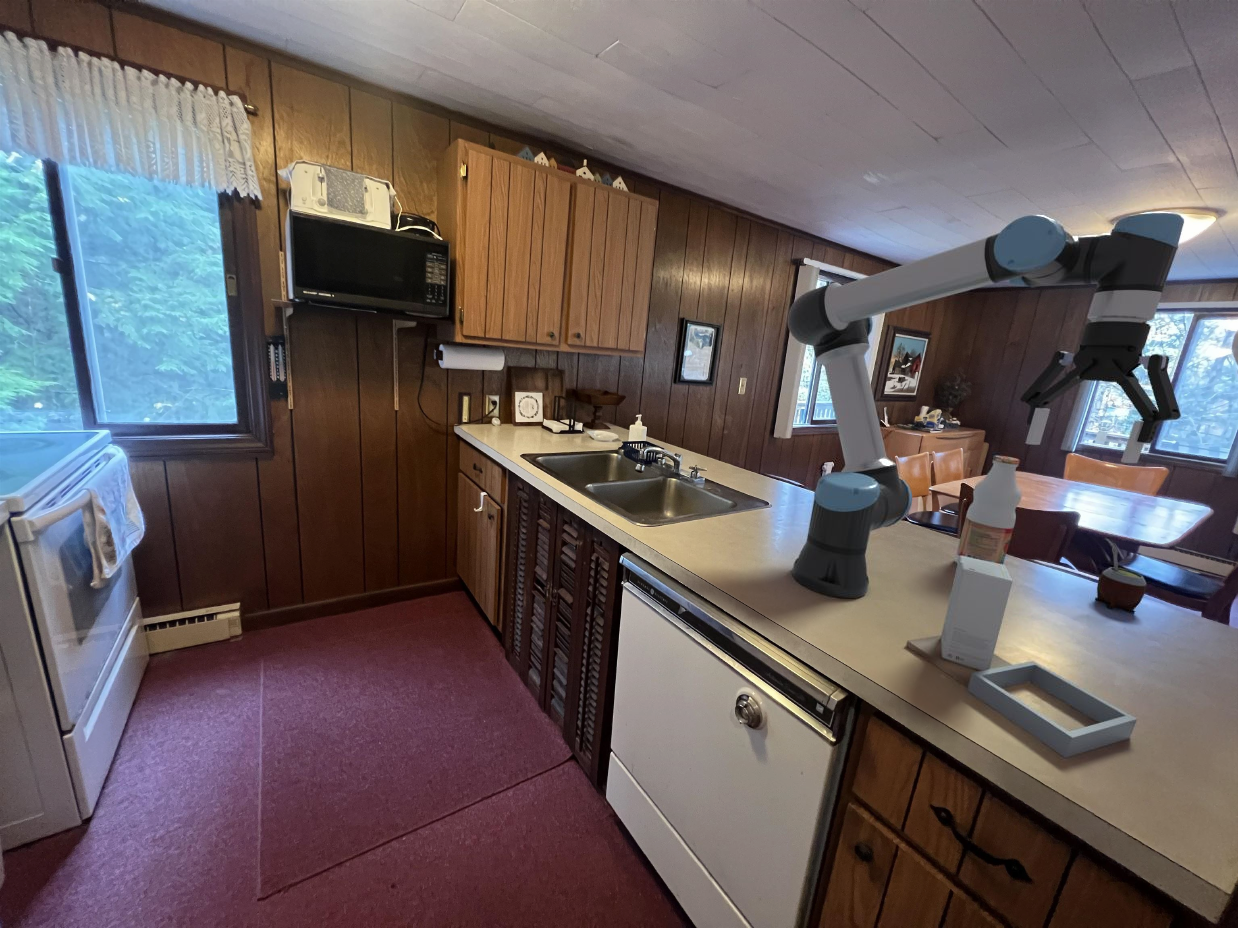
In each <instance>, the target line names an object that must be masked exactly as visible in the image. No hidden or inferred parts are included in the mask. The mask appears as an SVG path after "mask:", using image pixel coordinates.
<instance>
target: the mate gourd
mask: <svg viewBox="0 0 1238 928" xmlns="http://www.w3.org/2000/svg"><path fill="white" fill-rule="evenodd" d="M1104 540H1106V542H1107V543H1108V544H1109V546H1111V552H1112V554H1113V567H1112V566H1111V567H1108V568H1106V569H1105V570H1103V571H1102V572H1101V574H1100V575H1099V577H1098V580H1097V587H1096V594H1097V596H1095V598H1094V600H1095V601H1097V602H1100V603H1102V604H1104V605H1107V609H1108V610H1110V611H1113V610H1115V609H1119V610H1121V611H1124V612H1128V613H1130V614H1135V612H1136V611H1135V609H1136V608H1137V607H1138V606H1139V604H1140V603H1141V601H1142V600H1143V598H1144V595H1145V594H1146V592H1147V591H1146V590H1147V581H1146V580H1145V578H1144V576H1143V575H1141V574H1140V573H1138V572H1136V571H1132V570H1128V569H1126V568H1122V567H1119V565H1118V564H1119V562H1118V553H1119V551H1118V548H1117V547H1116V545H1115V544H1114V543H1113V542H1112V541H1111V540H1110V539H1109V538H1107V537H1104Z"/></svg>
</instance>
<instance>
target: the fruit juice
mask: <svg viewBox="0 0 1238 928" xmlns="http://www.w3.org/2000/svg"><path fill="white" fill-rule="evenodd" d="M992 464H993V465H992V466H991V469H990V470H989V471H988V472H987V474H986V476H985V477H984V478H983V479H981V480H979V481H978V482H977V483H976V484H975V486H974V488H973V494H972V495H973V500H972V503H970V505H969V507H968V509H967V511H966V516H965V519H964V524H963V527H962V531H961V535H960V539H959V541H958V545H957V550H956V554H955V559H954V560H955V563H956V564H958V560H959V557H960V556H966V557H970V558H974V559H979V560H983V561H988V562H993V563H998V564H1002V565H1004V563H1005V559H1006V557H1007V551H1008V549H1009V545H1010V542H1011V538H1012V534H1013V531H1014V528H1015V524H1016V520H1017V519H1016V518H1017V515H1016V509H1017V507H1018V505H1019V504H1020V502H1021V500H1022V491H1021V489H1020V488H1019V485H1018V484H1017V479H1016V478H1017V477H1016V470H1017V467H1019V465H1020V459H1018V458H1015V457H1011V456H1005V455H993V458H992Z"/></svg>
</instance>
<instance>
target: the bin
mask: <svg viewBox="0 0 1238 928" xmlns="http://www.w3.org/2000/svg"><path fill="white" fill-rule="evenodd" d="M1028 682H1030V683H1032V684H1033V685H1035V686H1037V687H1039V688H1040V689H1042V690H1043V691H1045V692H1046V693H1049V694H1050V695H1051V696H1053V697H1055V698H1057V699H1058V700H1060V701H1061V702H1063V703H1065V704H1067V705H1068V706H1070V707H1072V708H1074V709H1075V710H1077V711H1078V712H1080V713H1082V714H1084V715H1085V716H1087V717H1089V718H1090V719H1092V720H1093V721H1096V722H1097V723H1095V724H1092V725H1089V726H1084V727H1080V728H1076V729H1073V730H1068V729H1066V728H1065V727H1063V726H1061V725H1060V724H1058V723H1056V722H1055V721H1053V720H1052V719H1050V718H1049V717H1047V716H1045V715H1044V714H1042V713H1040V712H1039V711H1038V710H1036V709H1035V708H1033V707H1031V706H1029V705H1028V704H1026V702H1024V701H1022V700H1020V699H1019V698H1017V697H1016V696H1014V695H1012V694H1011V693H1010V692H1008V691H1006V690H1005V689H1003V688H1006V687H1011V686H1016V685H1021V684H1025V683H1028ZM966 690H967V691H968V692H969V693H970V694H972V695H973V696H975V697H976V699H977V698H978V699H979V700H980V701H982V702H983V703H985V704H986V705H988V706H989V707H991V708H992V709H994V710H995V711H996V712H998V713H999V714H1001V716H1004V717H1005V718H1007V719H1008V720H1010V721H1011V722H1013V723H1014V724H1016V725H1017V726H1018V727H1020V728H1022V729H1023V730H1024V731H1025V732H1026V733H1029V734H1030V735H1031V736H1032V737H1034V738H1036V739H1037V740H1039V741H1040V742H1042V743H1043V744H1044V745H1046V746H1048V747H1049V748H1051V749H1052V750H1053V751H1054V752H1056V753H1058V754H1059V755H1060V756H1062V757H1064V758H1065V759H1066V758H1069V757H1072V756H1075V755H1076V756H1077V755H1078V754H1083V753H1086V752H1090V751H1092V750H1096V749H1098V748H1101V747H1102V748H1103V747H1104V746H1109V745H1112V744H1115V743H1118V742H1121V741H1125V740H1128V739H1130V738H1131V737H1132V734H1133V731H1134V729H1135V726H1136V724H1137V720H1138V718H1137V717H1135V716H1133V715H1131V714H1129V713H1127V712H1125V711H1123V710H1122V709H1120V708H1119V707H1116V706H1115V705H1113V704H1111V703H1110V702H1108V701H1105V700H1104V699H1102V698H1100V697H1099V696H1096V695H1095V694H1093V693H1091V692H1090V691H1088V690H1086V689H1084V688H1082V687H1080V685H1077V684H1076V683H1074V682H1072V681H1070V680H1069V679H1067V678H1065V677H1063V676H1061V675H1059V674H1057V673H1056V672H1054V671H1052V670H1050V668H1049V669H1048V668H1046V667H1045V666H1044V665H1043V666H1042V665H1041V664H1039V663H1038V662H1036V661H1035V660H1031V661H1025V662H1020V663H1015V664H1012V665H1009V666H1004V667H999V668H994V669H989V670H984V671H979V672H974V673H972V675H971V678H970V682H969V685H968V687H967V689H966Z"/></svg>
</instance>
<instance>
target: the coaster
mask: <svg viewBox="0 0 1238 928" xmlns="http://www.w3.org/2000/svg"><path fill="white" fill-rule="evenodd" d="M905 646H906V647H908V648H909V649H910V650H912V651H913V652H914V653H916V654H918V655H919V656H921V657H922V658H924V659H925V660H927V661H928V662H929V663H931V664H933V665H934V666H935V667H937V668H939V669H940V670H941V671H943V672H944V673H946V674H947V675H949V676H950V677H952V678H953V679H954V680H955V681H957V682H959V683H961V684H962V685H963V686H965V687H966V688H968V685H969V682H970V678H971V675H972V673H974V672H979V671H980V670H977V669H973V668H970V667H967V666H964V665H961V664H958V663H955V662H952V661H949V660H946V659H944V658H942V651H941V634H940V635H935V636H928V637H922V638H916V639H909V640H907V641H906V645H905ZM1009 665H1013V663H1010V662H1009V661H1007V660H1005V659H1003V658H1002V657H1000V656H999V655H997V654H995V653H994V654H993V658H992V662H991V666H990V669H994V668H999V667H1004V666H1009Z"/></svg>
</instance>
